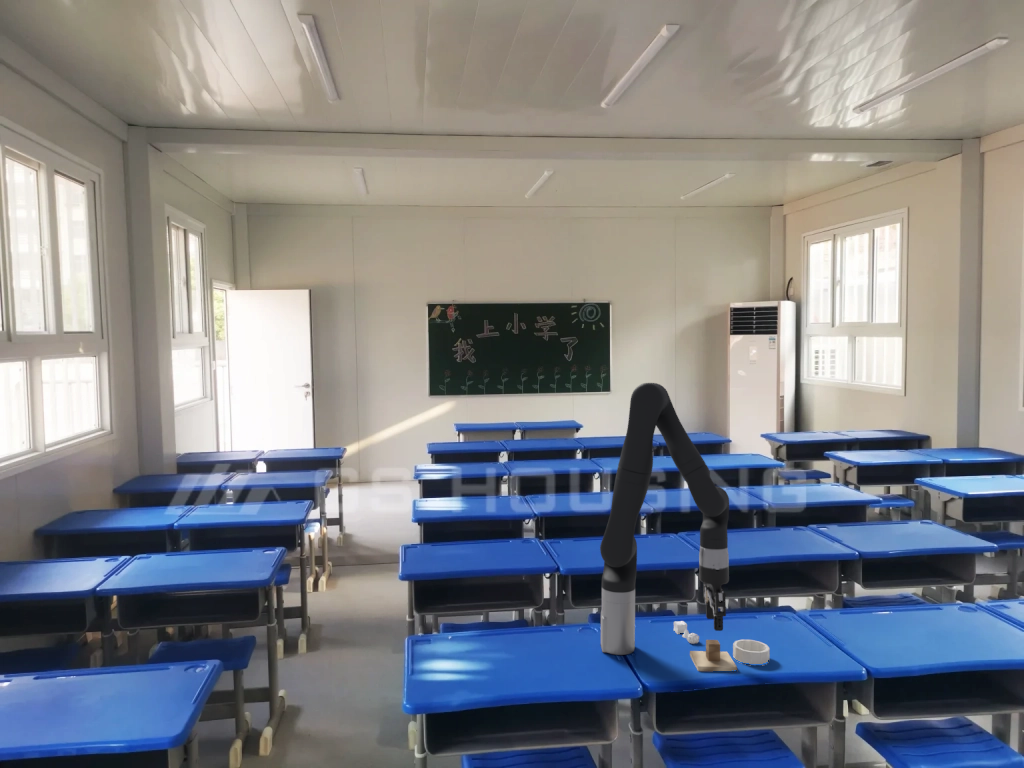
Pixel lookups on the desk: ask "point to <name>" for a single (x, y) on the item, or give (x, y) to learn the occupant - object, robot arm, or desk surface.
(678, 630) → the game pieces
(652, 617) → the desk surface
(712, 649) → the lid
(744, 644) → the bowl
